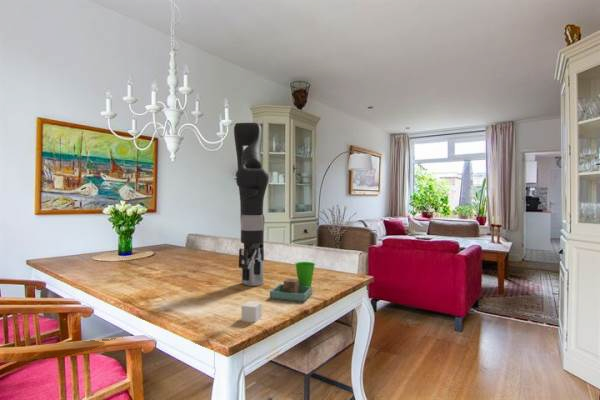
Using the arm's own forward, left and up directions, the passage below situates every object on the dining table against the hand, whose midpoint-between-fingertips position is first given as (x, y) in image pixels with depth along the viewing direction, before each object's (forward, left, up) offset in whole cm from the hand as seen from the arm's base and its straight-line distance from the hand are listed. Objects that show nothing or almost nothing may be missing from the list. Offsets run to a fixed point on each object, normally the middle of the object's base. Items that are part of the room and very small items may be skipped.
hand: (251, 277), depth 107 cm
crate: (+5, +27, -14) cm, 31 cm away
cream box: (0, 0, -14) cm, 14 cm away
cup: (+7, +40, -14) cm, 43 cm away
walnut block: (+5, +27, -13) cm, 31 cm away
